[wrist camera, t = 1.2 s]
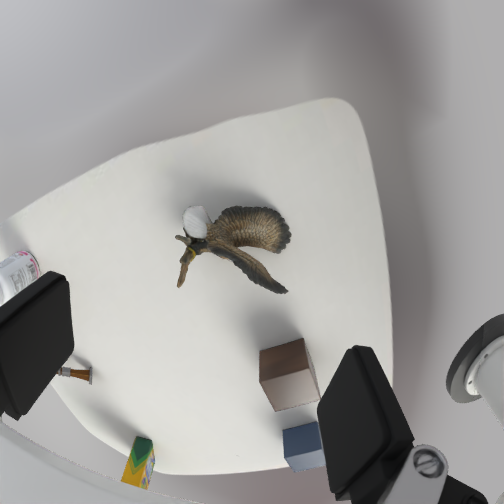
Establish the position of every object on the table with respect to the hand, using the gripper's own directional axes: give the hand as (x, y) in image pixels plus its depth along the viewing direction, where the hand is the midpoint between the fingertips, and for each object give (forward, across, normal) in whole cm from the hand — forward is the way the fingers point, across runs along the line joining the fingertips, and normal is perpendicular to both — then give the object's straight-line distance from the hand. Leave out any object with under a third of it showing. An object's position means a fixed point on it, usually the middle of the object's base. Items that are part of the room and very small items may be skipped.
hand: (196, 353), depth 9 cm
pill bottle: (+19, +24, +12) cm, 33 cm away
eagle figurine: (+19, 0, +2) cm, 19 cm away
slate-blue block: (+19, -16, +28) cm, 37 cm away
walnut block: (+19, -9, +14) cm, 25 cm away
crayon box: (+19, +7, +41) cm, 46 cm away
